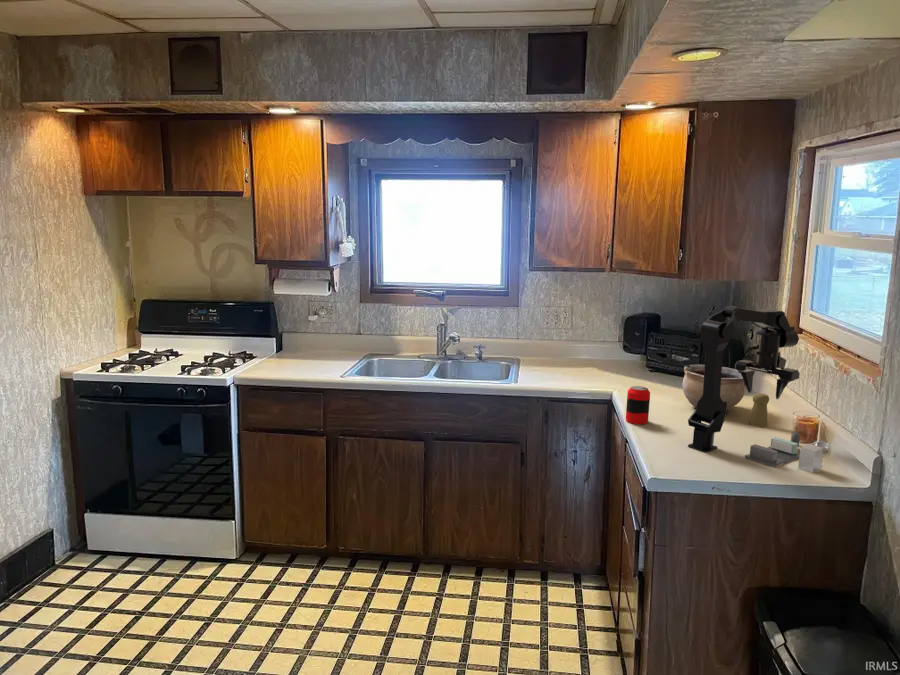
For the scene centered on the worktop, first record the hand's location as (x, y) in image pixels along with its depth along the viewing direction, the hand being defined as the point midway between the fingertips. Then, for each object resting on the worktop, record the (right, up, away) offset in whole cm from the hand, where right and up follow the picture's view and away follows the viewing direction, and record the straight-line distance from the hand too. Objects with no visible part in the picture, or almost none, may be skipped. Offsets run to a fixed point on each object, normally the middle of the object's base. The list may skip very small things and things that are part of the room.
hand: (763, 395), depth 221 cm
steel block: (+2, -19, -25) cm, 31 cm away
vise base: (-4, -17, -16) cm, 24 cm away
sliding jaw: (+3, -15, -11) cm, 19 cm away
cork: (+5, -12, +16) cm, 20 cm away
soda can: (-37, -11, +17) cm, 42 cm away
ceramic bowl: (-4, -8, +33) cm, 35 cm away
